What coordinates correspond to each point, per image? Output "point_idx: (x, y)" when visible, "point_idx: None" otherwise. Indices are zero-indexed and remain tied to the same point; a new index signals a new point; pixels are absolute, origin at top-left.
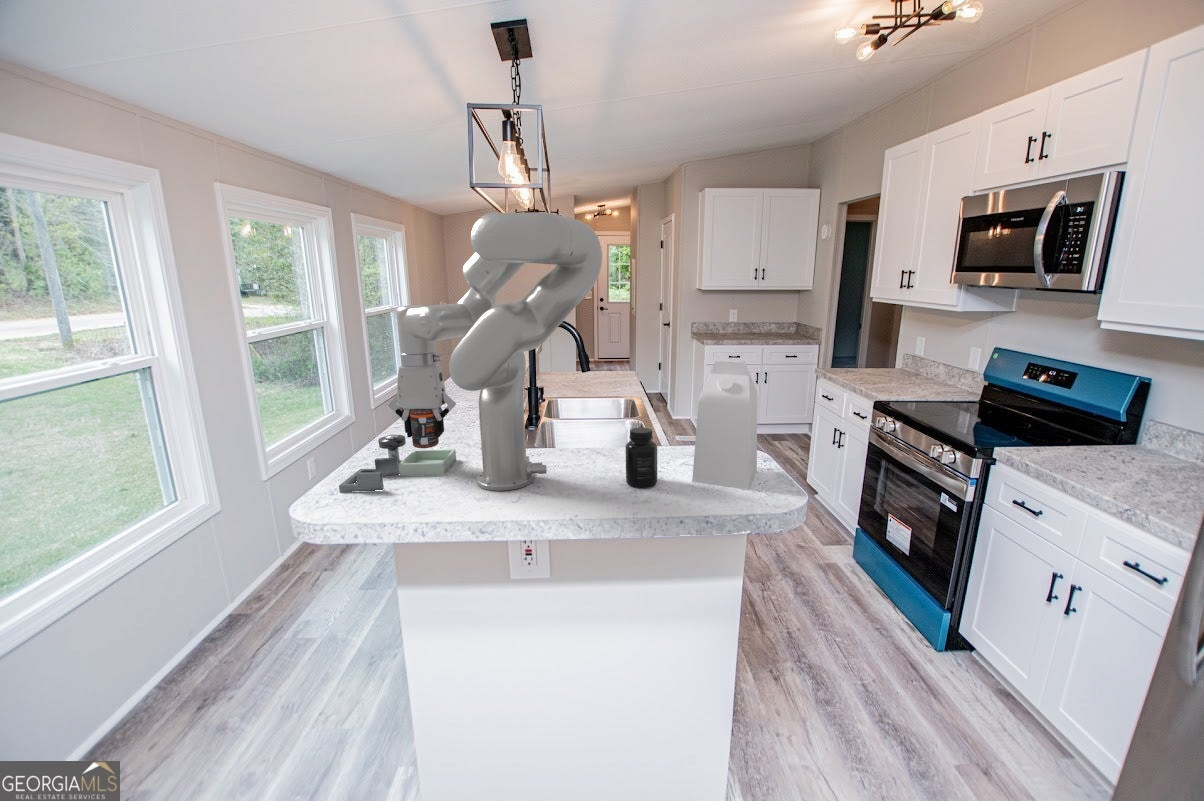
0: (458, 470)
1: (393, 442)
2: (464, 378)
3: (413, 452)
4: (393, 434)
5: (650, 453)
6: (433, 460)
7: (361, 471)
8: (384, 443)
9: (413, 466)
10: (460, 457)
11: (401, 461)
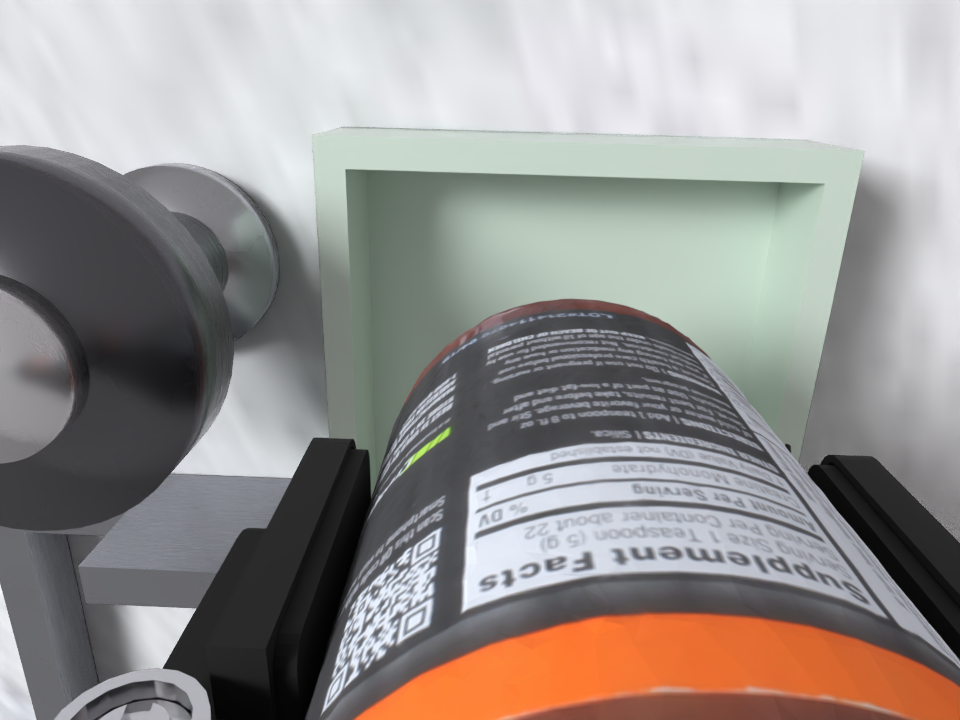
0: (848, 435)
1: (123, 508)
2: None
3: (338, 227)
4: None
5: None
6: (568, 212)
7: (29, 550)
8: (12, 516)
9: None
10: (847, 36)
11: (225, 217)
